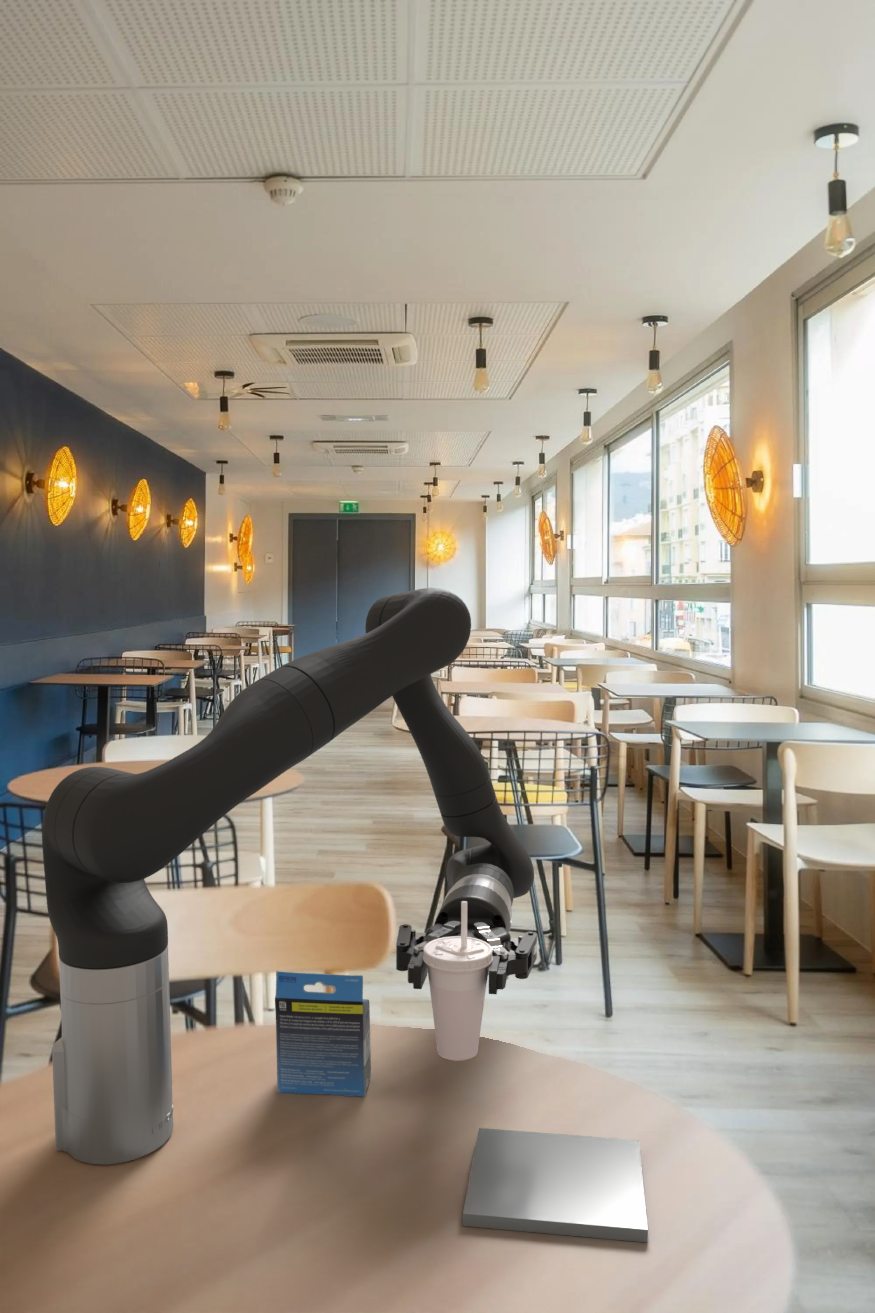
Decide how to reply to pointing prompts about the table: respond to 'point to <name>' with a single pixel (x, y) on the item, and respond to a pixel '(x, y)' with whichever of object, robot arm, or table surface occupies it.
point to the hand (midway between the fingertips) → (454, 981)
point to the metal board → (557, 1185)
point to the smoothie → (458, 990)
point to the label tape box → (322, 1035)
